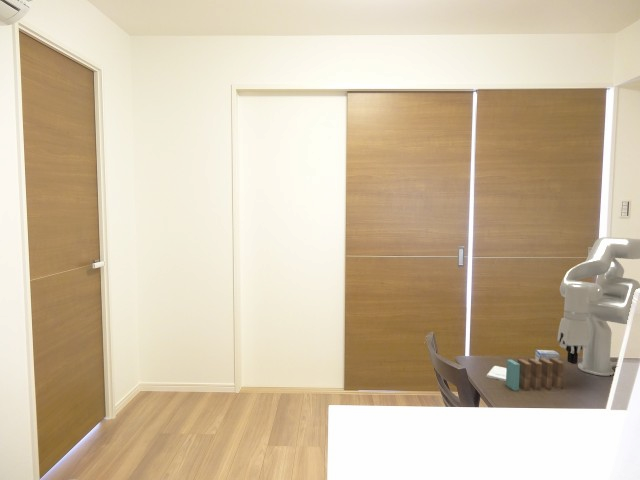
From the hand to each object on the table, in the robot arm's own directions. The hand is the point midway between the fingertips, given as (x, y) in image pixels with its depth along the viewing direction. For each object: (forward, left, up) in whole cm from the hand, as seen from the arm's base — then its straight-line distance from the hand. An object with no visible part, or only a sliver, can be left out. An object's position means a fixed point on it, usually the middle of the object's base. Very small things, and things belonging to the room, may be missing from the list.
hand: (572, 362), depth 156 cm
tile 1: (+6, 0, -9) cm, 11 cm away
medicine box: (0, -13, -9) cm, 16 cm away
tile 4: (+20, 0, -9) cm, 22 cm away
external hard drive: (+22, -13, -10) cm, 27 cm away
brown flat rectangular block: (+11, 0, -9) cm, 14 cm away
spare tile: (+24, 0, -9) cm, 26 cm away
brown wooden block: (+15, 0, -9) cm, 18 cm away
